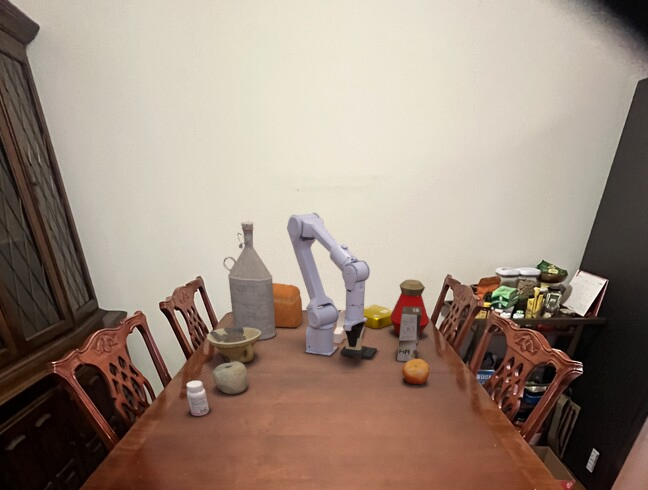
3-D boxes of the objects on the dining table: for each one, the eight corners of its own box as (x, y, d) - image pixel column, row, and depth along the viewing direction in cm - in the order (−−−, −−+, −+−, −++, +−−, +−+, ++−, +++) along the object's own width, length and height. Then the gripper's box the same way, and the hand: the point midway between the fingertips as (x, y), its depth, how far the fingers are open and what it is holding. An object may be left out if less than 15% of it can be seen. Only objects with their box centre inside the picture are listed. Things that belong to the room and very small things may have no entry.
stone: (258, 369, 125) (243, 356, 116) (248, 401, 124) (232, 391, 114) (229, 364, 128) (212, 351, 119) (220, 396, 127) (202, 385, 117)
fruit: (430, 371, 130) (432, 355, 123) (426, 392, 127) (427, 377, 120) (405, 368, 132) (404, 352, 125) (399, 388, 129) (399, 374, 122)
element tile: (373, 313, 184) (374, 302, 182) (400, 321, 175) (401, 310, 172) (349, 321, 176) (350, 309, 173) (376, 329, 167) (377, 318, 164)
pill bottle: (192, 407, 114) (186, 380, 109) (210, 407, 114) (205, 379, 109) (189, 416, 110) (183, 388, 105) (207, 415, 110) (202, 387, 105)
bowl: (274, 359, 142) (272, 332, 137) (231, 375, 131) (227, 346, 126) (242, 346, 152) (239, 320, 147) (200, 360, 141) (195, 333, 136)
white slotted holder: (332, 342, 155) (333, 314, 149) (341, 327, 169) (341, 300, 163) (358, 344, 153) (359, 315, 147) (364, 328, 168) (365, 301, 162)
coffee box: (415, 362, 139) (421, 314, 131) (396, 360, 140) (401, 313, 132) (416, 352, 147) (422, 306, 138) (398, 350, 148) (402, 305, 139)
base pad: (342, 355, 144) (343, 352, 144) (349, 347, 151) (350, 344, 150) (370, 359, 141) (371, 356, 141) (376, 351, 148) (376, 348, 147)
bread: (296, 329, 167) (295, 289, 158) (234, 325, 171) (230, 286, 162) (304, 318, 178) (303, 280, 170) (246, 315, 182) (242, 278, 174)
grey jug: (237, 328, 168) (224, 219, 146) (279, 330, 166) (272, 219, 145) (227, 339, 157) (211, 223, 136) (272, 341, 156) (263, 224, 134)
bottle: (434, 336, 160) (442, 283, 149) (409, 344, 154) (415, 288, 143) (406, 325, 171) (411, 274, 160) (381, 332, 164) (384, 279, 154)
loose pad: (340, 354, 135) (340, 340, 133) (348, 345, 143) (348, 331, 140) (360, 357, 133) (361, 343, 131) (368, 347, 141) (368, 334, 138)
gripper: (360, 311, 122) (358, 354, 129) (373, 298, 133) (371, 339, 140) (338, 308, 124) (337, 351, 131) (352, 296, 135) (351, 336, 143)
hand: (353, 345), depth 136 cm, fingers closed on loose pad
